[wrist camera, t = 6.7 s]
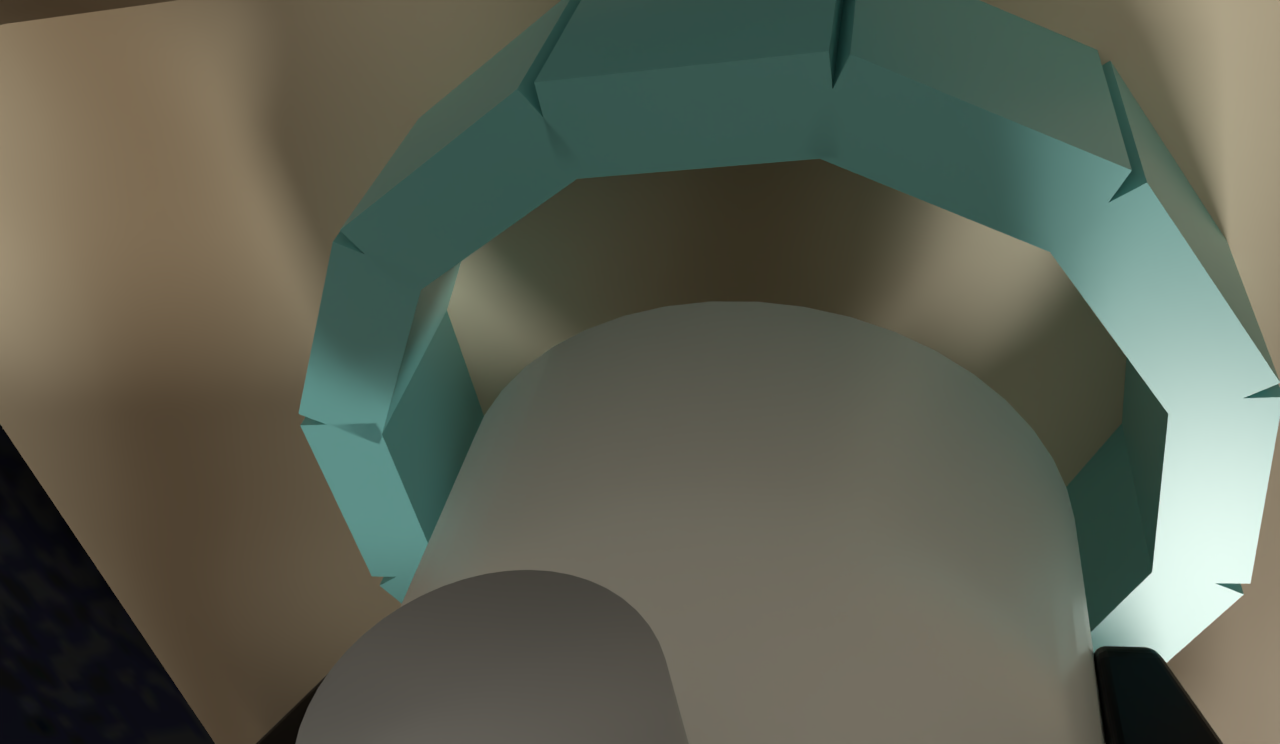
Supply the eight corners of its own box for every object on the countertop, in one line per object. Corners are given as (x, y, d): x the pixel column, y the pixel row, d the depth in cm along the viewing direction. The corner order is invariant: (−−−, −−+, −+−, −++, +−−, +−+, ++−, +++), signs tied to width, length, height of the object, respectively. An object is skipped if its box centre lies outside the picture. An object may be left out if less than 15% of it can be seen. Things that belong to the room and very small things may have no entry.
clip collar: (1277, -109, 9) (1354, -5, 7) (1180, 636, 14) (1213, 790, 12) (264, 22, 11) (157, 122, 9) (500, 623, 16) (455, 753, 14)
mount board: (1847, -274, 8) (1943, -240, 7) (1388, 936, 18) (1410, 1003, 18) (-178, 20, 13) (-246, 58, 12) (345, 858, 23) (326, 907, 22)
